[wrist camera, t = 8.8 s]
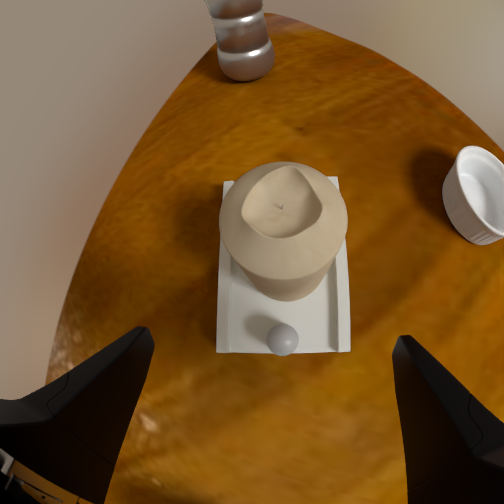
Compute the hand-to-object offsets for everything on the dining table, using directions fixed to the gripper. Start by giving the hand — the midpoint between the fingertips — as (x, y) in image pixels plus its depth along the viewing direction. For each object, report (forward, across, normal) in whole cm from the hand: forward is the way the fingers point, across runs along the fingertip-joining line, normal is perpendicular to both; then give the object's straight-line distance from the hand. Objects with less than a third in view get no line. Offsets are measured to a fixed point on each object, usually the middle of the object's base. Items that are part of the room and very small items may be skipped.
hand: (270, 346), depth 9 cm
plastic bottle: (+28, +4, -14) cm, 32 cm away
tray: (+12, 0, +4) cm, 12 cm away
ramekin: (+16, -19, 0) cm, 24 cm away
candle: (+11, 0, +3) cm, 11 cm away
